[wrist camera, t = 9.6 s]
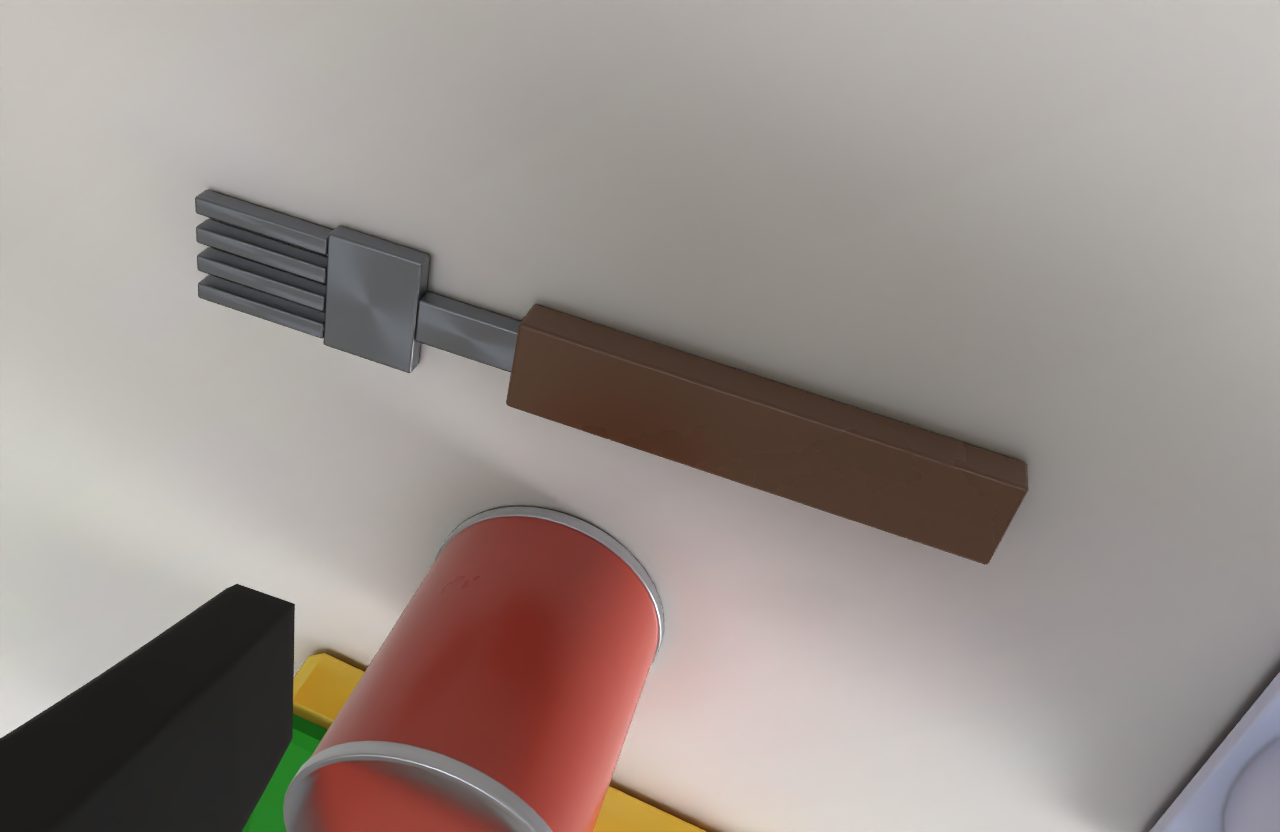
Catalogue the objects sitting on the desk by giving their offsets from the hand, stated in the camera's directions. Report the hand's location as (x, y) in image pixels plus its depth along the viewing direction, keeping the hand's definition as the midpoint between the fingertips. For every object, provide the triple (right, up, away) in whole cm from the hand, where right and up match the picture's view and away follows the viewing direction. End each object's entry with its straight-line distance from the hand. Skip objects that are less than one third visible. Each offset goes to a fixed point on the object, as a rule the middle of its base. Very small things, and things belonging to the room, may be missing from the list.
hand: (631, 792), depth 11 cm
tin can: (-2, 0, +13) cm, 13 cm away
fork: (-1, +4, +10) cm, 11 cm away
